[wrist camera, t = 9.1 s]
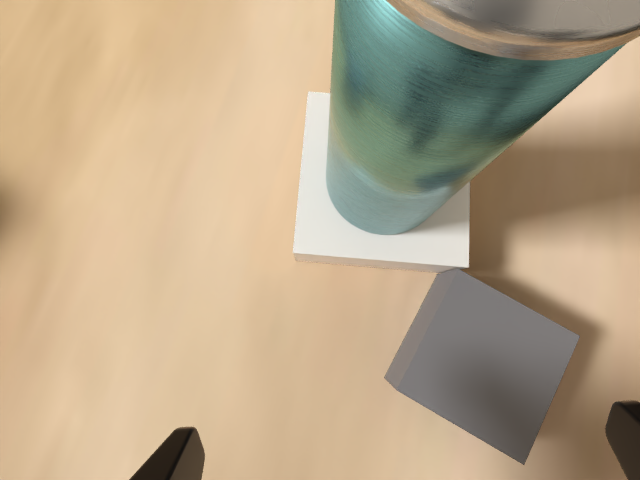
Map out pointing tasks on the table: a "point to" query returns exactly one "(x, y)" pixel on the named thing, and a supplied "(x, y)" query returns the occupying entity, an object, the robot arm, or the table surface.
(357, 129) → the canister
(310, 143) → the pale block
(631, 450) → the robot arm
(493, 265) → the table surface
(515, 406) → the grey square block
